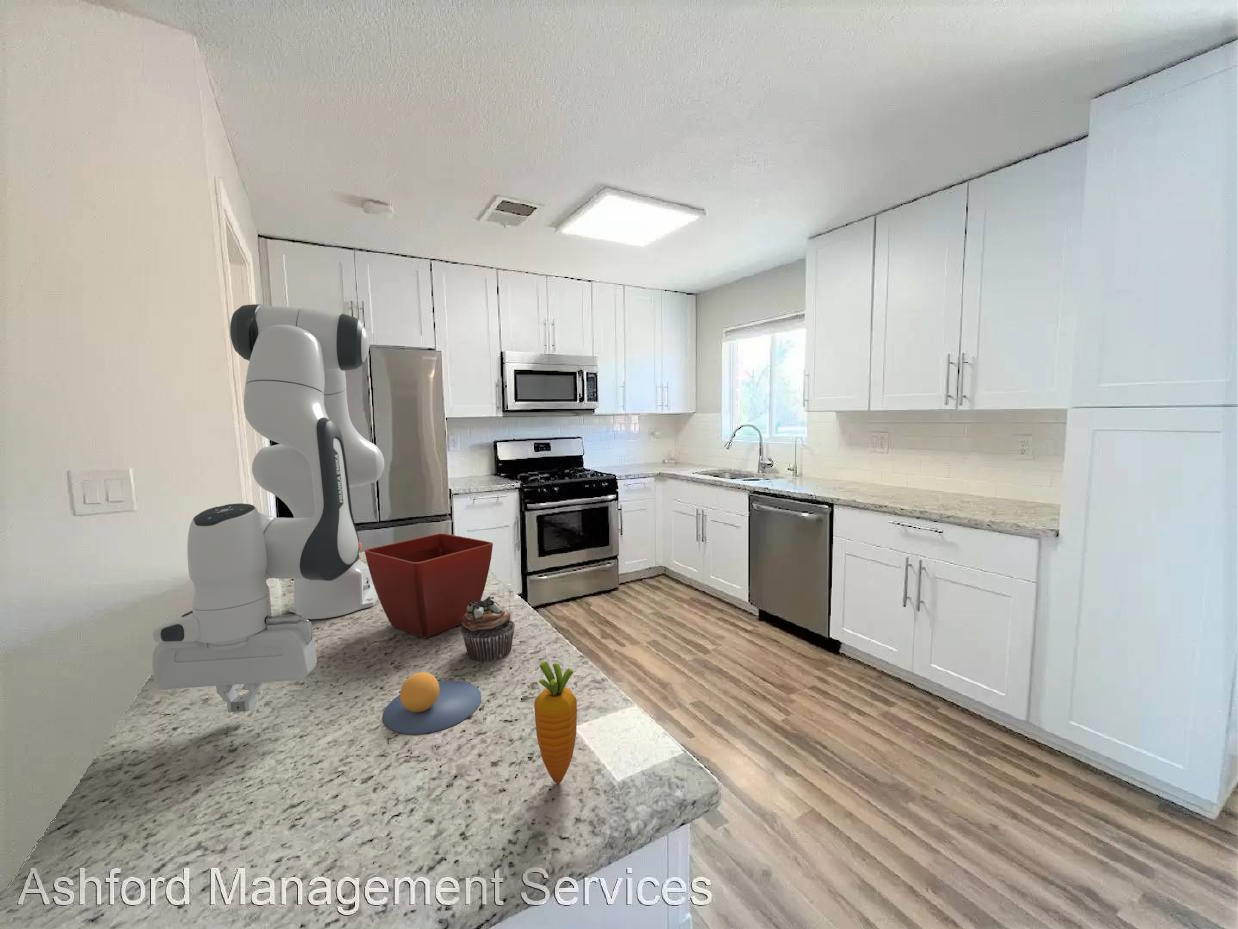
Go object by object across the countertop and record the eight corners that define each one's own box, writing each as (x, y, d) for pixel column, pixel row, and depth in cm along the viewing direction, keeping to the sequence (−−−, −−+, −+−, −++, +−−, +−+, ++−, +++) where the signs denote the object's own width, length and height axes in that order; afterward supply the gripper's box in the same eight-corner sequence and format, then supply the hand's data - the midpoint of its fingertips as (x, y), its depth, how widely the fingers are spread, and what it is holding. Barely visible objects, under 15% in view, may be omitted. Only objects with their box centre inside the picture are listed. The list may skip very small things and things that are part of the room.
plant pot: (444, 600, 121) (441, 531, 120) (498, 616, 110) (495, 542, 109) (367, 627, 106) (362, 549, 104) (420, 650, 95) (415, 563, 93)
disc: (400, 684, 83) (400, 683, 82) (487, 678, 84) (487, 677, 84) (368, 738, 69) (368, 737, 69) (472, 729, 70) (472, 728, 70)
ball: (450, 677, 78) (433, 707, 78) (419, 659, 78) (402, 689, 78) (438, 694, 72) (420, 727, 73) (405, 676, 72) (386, 708, 72)
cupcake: (480, 670, 87) (478, 614, 86) (453, 652, 94) (450, 600, 93) (526, 651, 94) (524, 599, 93) (497, 636, 101) (495, 587, 100)
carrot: (587, 781, 60) (584, 661, 58) (555, 805, 56) (552, 678, 55) (559, 762, 63) (556, 648, 62) (528, 784, 60) (524, 663, 58)
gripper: (321, 606, 76) (327, 692, 77) (174, 614, 74) (183, 703, 75) (299, 622, 70) (307, 716, 71) (138, 632, 68) (149, 729, 69)
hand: (242, 710), depth 73 cm, fingers closed
